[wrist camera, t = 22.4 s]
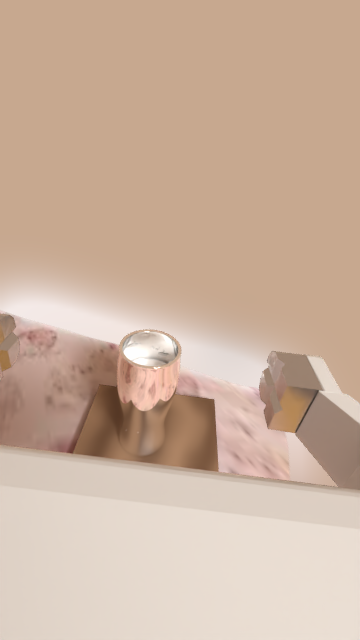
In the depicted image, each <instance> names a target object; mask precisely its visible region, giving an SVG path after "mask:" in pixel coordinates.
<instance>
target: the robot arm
mask: <svg viewBox="0 0 360 640" xmlns="http://www.w3.org/2000/svg"><path fill="white" fill-rule="evenodd" d="M15 328H16V324H15V321H14V318H13V317H12V316H10V315H7V314H0V381H1V379H2V378H3V373H2V371H4V370H6V369H8V368H10V367H12V366H13V364H14V363H15V362H16V360H17V357H18V354H19V350H20V343H19V338H18V337H17V336H16V335H15V334H14V333H13V330H14V329H15ZM267 363H268V368H267V369H265V370H264V371H263V372H262V375H261V378H260V385H259V392H260V398H261V400H262V401H263V402H264V403H265V404H266V406H265V409H264V415H265V419H266V423H267V427H268V429H271V430H278V431H284V432H291V433H296V436H297V437H298V438H299V440H300V441H301V442H302V443H303V444H304V446H305V447H306V448H307V449H308V451H309V452H310V453H311V454H312V455H313V457H314V458H315V459H316V460H317V461H318V463H319V464H320V465H321V466H322V467H323V469H324V470H325V471H326V472H327V473H328V475H329V476H330V477H331V478H332V480H333V481H334V482H335V483H336V484H337V486H338V487H334V486H327V485H318V484H311V483H303V482H294V481H287V480H279V479H271V478H263V477H255V476H247V475H239V474H231V473H223V472H215V471H207V470H199V469H191V468H183V467H175V466H167V465H159V464H151V463H143V462H135V461H128V460H120V459H112V458H104V457H96V456H88V455H80V454H72V453H64V452H56V451H48V450H40V449H32V448H24V447H16V446H8V445H0V640H360V403H358V402H357V401H356V400H354V399H353V398H352V397H350V396H349V395H348V394H342V392H341V391H340V389H339V387H338V385H337V383H336V382H335V380H334V378H333V376H332V374H331V373H330V371H329V369H328V367H327V365H326V364H325V362H324V360H323V359H322V358H321V357H320V356H313V355H300V354H292V353H284V352H276V351H272V352H271V353H270V354H269V356H268V359H267Z"/></svg>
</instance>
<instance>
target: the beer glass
mask: <svg viewBox="0 0 360 640" xmlns="http://www.w3.org/2000/svg"><path fill="white" fill-rule="evenodd" d="M180 357H181V346H180V344H179V342H178V341H177V340H176V339H175V338H174V337H172V336H171V335H169V334H167V333H164V332H162V331H157V330H139V331H135V332H132V333H130V334H128V335H126V336H125V337H124V338H123V339H122V341H121V342H120V345H119V356H118V364H117V391H118V397H119V402H120V406H121V410H122V415H123V421H122V425H121V428H120V432H119V440H120V443H121V445H122V447H123V448H124V449H125V450H126V451H127V452H128V453H130V454H132V455H135V456H148V455H151V454H153V453H155V452H157V451H158V450H159V449H160V448H161V447H162V445H163V443H164V441H165V426H164V422H165V418H166V415H167V413H168V411H169V408H170V406H171V404H172V401H173V399H174V396H175V393H176V390H177V385H178V380H179V372H180Z"/></svg>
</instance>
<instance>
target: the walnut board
mask: <svg viewBox="0 0 360 640" xmlns="http://www.w3.org/2000/svg"><path fill="white" fill-rule="evenodd" d="M122 421H123V415H122V410H121V406H120V402H119V397H118V391H117V387H115V386H107V385H99V388H98V390H97V393H96V395H95V398H94V400H93V403H92V406H91V408H90V411H89V413H88V416H87V418H86V421H85V423H84V426H83V428H82V431H81V434H80V436H79V439H78V441H77V444H76V446H75V449H74V451H73V454H80V455H88V456H96V457H104V458H112V459H120V460H128V461H135V462H143V463H151V464H159V465H167V466H175V467H183V468H191V469H199V470H207V471H215V472H219V471H218V454H217V437H216V421H215V404H214V399H207V398H199V397H191V396H184V395H176V394H175V396H174V399H173V401H172V404H171V406H170V408H169V411H168V413H167V415H166V418H165V422H164V426H165V441H164V443H163V445H162V447H161V448H160V449H159V450H158V451H157V452H155V453H153V454H151V455H148V456H135V455H132V454H130V453H128V452H127V451H126V450H125V449H124V448H123V447H122V445H121V443H120V440H119V432H120V428H121V425H122Z"/></svg>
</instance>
